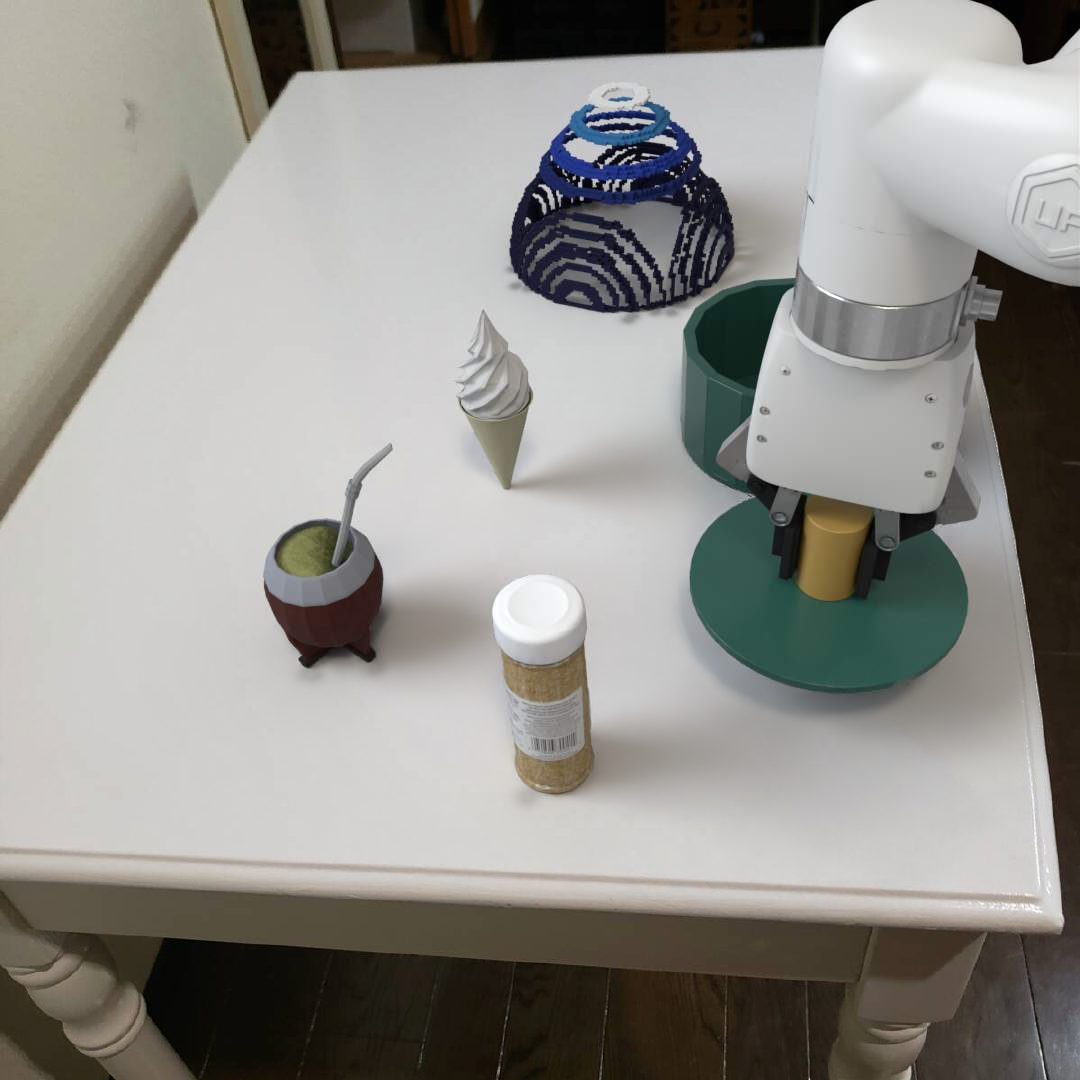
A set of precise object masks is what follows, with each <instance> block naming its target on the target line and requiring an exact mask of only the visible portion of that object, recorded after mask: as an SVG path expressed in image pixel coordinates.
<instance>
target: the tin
mask: <svg viewBox="0 0 1080 1080" xmlns="http://www.w3.org/2000/svg"><path fill="white" fill-rule="evenodd" d="M794 285H795V277H786V278H785V277H783V278H768V279H755V280H752V281H748V282H744V283H741V284H737V285H735V286H731V287H726V288H725V289H721V290H720V291H718V292H717V293H715V294H714V295H712V296H711V297H709V298H708V299H706V300H705V301H703V302H702V303H700V304H698V306H696V307H695V308H694V309H693V311H692V313H691V315H690V317H689V318H688V320H687V322H686V324H685V325H684V327H683V330H682V355H681V356H682V357H681V359H682V360H681V393H680V425H681V437H682V442H683V446H684V447H685V450H686V452H687V454H688V456H689V457H690V458H691V460H692V461H693V462H694V463H695V465H697V467H698V468H699V469H700V470H701V471H702V472H704V474H706V475H708V476H709V477H710V478H712V479H714V480H715V481H717V482H719V483H721V484H723V485H725V486H727V487H729V488H731V489H733V490H737V491H739V492H742V493H745V494H748V495H753V496H755V495H754V494H753V493H752V492H751V491H750V490H749V489H748V487H747V483H746V482H745V481H744V480H739V479H738V478H736V477H735V476H734V475H732V474H731V473H729V472H728V471H727V470H725V469H724V468H723V467H721V466H720V465H719V464H718V463H717V461H716V457H717V455H718V452H719V450H720V448H721V446H722V444H723V442H724V441H725V440H726V439H727V438H728V437H729V436H730V435H731V434H732V433H733V432H734V431H735V430H736V429H737V428H738V427H739V426H740V425H741V424H742V423H743V422H744V421H745V420H746V419H747V418H748V417H749V416H750V415H752V410H753V404H754V399H755V393H756V388H757V383H758V378H759V373H760V369H761V365H762V360H763V356H764V353H765V349H766V345H767V342H768V338H769V335H770V331H771V328H772V324H773V321H774V317H775V315H776V312H777V309H778V306H779V304H780V301H781V299H782V297H783V295H784V294H785V293H786V292H787V291H788V290H790V289H791V288H793V287H794Z"/></svg>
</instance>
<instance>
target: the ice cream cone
mask: <svg viewBox="0 0 1080 1080" xmlns="http://www.w3.org/2000/svg"><path fill="white" fill-rule="evenodd" d="M469 343H470V344H469V346H468V347H467V348H466V351H467V352H468V353H469V354H470V355H471V356H472V357H471V358H469V359H466V360H465V361H463V362H460V363H459V364H458V365H457V368H458V369H462V370H464V373H463V374H462V375H460V376H456V377H454V378H453V382H455V383H456V384H460V385H462V386H463V388H462V390H461V391H459V392H457V393H455V398H456V399H457V403H458V407H459V409H460V410H461V411H462V413H463V414H464V415H465V416H466V418H467V421H468V422H469V425H470V427H471V429H472V431H473V433H474V434H475V436H476V438H477V441H478V442H479V445H481V448H482V450H483V452H484V454H485V456H486V458H487V460H488V461H489V464H490V465H491V467H492V469H493V471H494V473H495V475H496V478H497V479H498V481H499V483H500V484H501V487H502V488H503V489H504V490H508V489H510V488H511V484H512V479H513V474H514V472H515V471H514V470H515V466H516V463H517V459H518V455H519V451H520V447H521V442H522V438H523V435H524V431H525V425H526V422H527V417H528V413H529V409H530V406H531V405H532V403H533V400H534V391H533V388H532V387H531V386H530V383H529V370H528V368H527V367H526V365H525V364H524V362H523V361H522V359H521V358H520V356H519V355H517V354H516V353H514V352H512V351H510V350H509V342H508V341H507V340H506V339H505V338H504V337H503V336H502V335H501V333H499V332H498V331H497V329H496V327H495V326H494V324H493V323H492V321H491V320H490V317H489V316H488V314H487V312H486V311H485V309H481V313H480V316H479V319H478V322H477V324H476V328H475V330H474V333H473V335H472V337H471V339H470V341H469Z"/></svg>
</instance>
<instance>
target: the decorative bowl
mask: <svg viewBox="0 0 1080 1080" xmlns="http://www.w3.org/2000/svg"><path fill="white" fill-rule="evenodd" d="M617 91H621V92H629V93H633V97H630V96H621V97H617V98H615V97H610V98H605V96H606V95H607V94H608V93H612V92H617ZM649 99H651V91H650V88H649V87H648V86H645V85H640V83H634V82H627V81H621V82H615V81H611V82H607V83H602V85H600V86H597V87H595V88H594V89H593V90H592V91H591V93H589V94H588V99H587V103H588V104H584V106H582V107H581V108H580V109H579V110H575V111H574V112H573V113H572V114H571V115H570V119H569V123H568V124H567V125H565V127H564V128H563V129H562V130H561V131H560V132H559V133H558V134H557V135H556V136H555V137H554V138H553V139H552V140H551V142H550V146H549V149H548V150H547V151H546V152H545V153H544V154H542V156H541V157H540V161H539V166H538V171H537V173H536V174H535V177H534V178H533V179H532V180H531V181H530V182H529V183H528V185H527V186H526V187H524V192H523V196H522V197H521V198H520V201H519V202H518V203H517V207H516V211H515V212H514V216H513V219H512V224H511V234H510V238H509V245H510V247H509V248H508V249H509V250H508V251H509V257H510V265H511V266H512V268H513V273H515V274H517V279H518V280H521V282H523V284H524V286H525V287H528V289H529V290H530V291H533V292H534V294H538V295H541V297H544V298H545V299H546V300H550V301H552V303H554V304H560V305H564V306H569V307H575V308H580V309H585V310H588V311H593V312H599V313H604V314H605V312H608V313H613V314H614V313H616V312H617V313H618V312H619V311H621V312H622V311H623V312H627V313H632V312H637V313H638V312H639V311H640V310H646V311H650V310H654V309H658V308H665V307H666V306H667V305H668V306H673V305H674V304H675V303H676V304H678V303H679V302H680V303H681V302H683V301H684V302H686V301H687V300H688V298H689V297H692V298H695V297H696V296H697V295H701V294H702V292H703V291H704V289H708V288H712V286H713V285H714V284H717V283H718V282H719V280H720V279H721V277H722V276H723V274H724V273H725V271H726V269H728V266H729V265H730V263H731V262H732V260H733V258H734V257H735V249H736V248H735V239H734V238H735V234H734V230H735V226H734V222H732V221H733V214H731V212H730V207H729V206H728V204H729V202H728V200H727V199H726V197H725V194H724V192H723V191H722V190H723V187H722V186H720V182H719V181H718V182H717V180H716V179H715V177H712V176H709V175H707V174H706V173H705V172H704V170H702V168H701V167H700V166H701V164H702V162H703V154H702V153H701V150H698V145H697V142H695V138H694V137H691V136H690V133H689V132H686V128H685V129H684V127H682V126H681V125H679V124H678V123H677V122H676V121H673V120H672V119H671V111H669V110H668V109H666V107H665V106H664V105H661V104H659V103H654V102H653V101H649ZM636 107H643V108H649V109H648V110H651V111H650V112H647V111H642V109H638V110H634V109H635V108H636ZM595 109H599V110H604V111H601V112H597V113H593V114H589V115H588V116H587V113H592V112H593V111H594V110H595ZM605 110H606V112H605ZM607 111H608V112H607ZM614 119H617V120H620V119H627V120H633V119H638V120H646V121H652V122H651V123H650V124H648V123H647V124H646V123H639V122H636V123H635V124H631V123H629V122H622V121H621V122H614V123H610V122H609V123H607V124H606V123H604V124H599V125H594V124H591V125H589V126H588V124H589V123H595V122H596V123H597V122H600V121H601V120H603V121H610V120H614ZM616 131H619V132H616ZM625 131H629V132H625ZM606 132H608V133H606ZM660 136H665V138H668V139H669V138H670V139H673V141H676V143H675V147H677V148H676V149H675V148H674V146H670V145H666V143H661V142H655V141H650V140H651V139H655V138H656V137H660ZM575 139H576V140H578V139H581V140H585V141H586V142H587V143H592V144H594V145H598V146H601V147H602V146H603V147H607V146H611V148H609V147H608V148H606V149H605V150H604V152H602V153H601V154H599V155H598V156H597V159H594V160H593V161H592V162H590V161H586V160H585V159H582V158H578V157H577V156H573V155H572V154H571V152H570V150H567V147H566V146H565V145H567V144H568V143H569V142H570V141H571V142H573V141H574V140H575ZM623 151H624V152H623ZM616 152H621V153H618V154H617V155H616ZM690 153H691V154H692V160H691V158H690V157H689V156H688V155H689V154H690ZM643 154H646V155H643ZM647 155H649V156H647ZM632 156H633V157H632ZM629 157H631V158H629ZM608 159H611V160H610V161H608V163H607V164H606V161H607V160H608ZM634 162H635V163H634ZM601 166H602V168H601ZM671 173H673V174H671ZM574 177H575V178H574ZM581 177H582V179H581ZM693 178H694V179H693ZM594 180H597V181H595V185H594ZM617 180H619V181H618V186H615V188H614V189H613V187H614V185H615V184H616V181H617ZM628 180H630V182H629V190H628V191H626V190H624V191H623V187H624V186H625V185H626V184H628ZM609 181H611V182H609ZM607 182H609V183H608V189H607V190H605V187H604V185H607ZM579 183H581V186H579ZM543 186H546V187H547V188H549V191H551V195H552V198H553V201H554V208H552V205H551V204H550V198H549V193H548V191H547V190H546V189H545V188H544V187H543ZM685 186H686V187H685ZM687 189H689V190H688V191H689V192H687ZM557 192H558V195H557ZM689 194H690V195H691V196H690V197H691V199H690V200H689ZM535 195H536V196H539V197H540V198H541V199H542V202H541V201H540V198H539V197H536V196H535ZM559 195H560V199H559ZM669 196H670V197H669ZM581 198H583V199H581ZM559 200H560V201H559ZM646 201H647V202H649V201H650V202H653V201H656V202H662V203H668V204H671V206H675V207H676V206H677V207H682V209H681V210H680V215H681V216H682V217H681V218H682V219H681V220H680V224H679V226H678V230H677V235H676V239H675V241H674V244H673V249H672V253H671V257H672V258H674V259H670V266H669V269H668V272H667V278H668V279H669V280H670V288H669V292H670V300H669V299H667V297H668V291H667V290H666V289H664V280H665V276H663V275H662V270H661V269H659V264H658V263H655V262H656V257H653V254H651V253H650V251H649V250H647V247H644V244H643V243H641V240H638V237H637V236H636V231H635V232H634V231H633V228H628V229H624V223H623V224H622V223H621V220H616V219H615V220H613V221H612V220H606V219H605V217H604V216H599V215H594V214H588V213H583V212H577V211H573V213H568V211H566V210H567V209H571V208H572V207H578V206H582V205H583V204H586V205H588V204H592V203H593V202H599V203H600V202H601V204H603V205H610V206H615V205H623V204H626V205H631V206H636V204H637V203H641V202H646ZM543 204H545V211H546V212H543V211H544V210H543ZM692 212H693V213H692ZM553 215H554V216H553ZM702 217H703V218H702ZM527 219H528V220H529V221H530V222H527V224H526V220H527ZM567 219H568V220H571V221H572V222H576V223H581V224H587V225H593V226H598V229H600V230H606V231H610V232H611V231H612V230H615V231H616V235H617V236H619V239H624V240H625V243H630V242H631V246H632V247H634V253H637V254H640V257H642V258H643V263H645V264H646V266H647V267H649V270H653V271H652V279H654V280H655V285H658V294H661V295H662V299H658V300H655V301H651V292H652V289H653V287H652V282H650V280H649V279H650V278H649V276H648V275H646V274H647V273H646V272H644V271H643V270H644V269H643V268H644V267H643V266H641V264H640V262H638V260H637V259H635V257H634V253H631V252H627V253H625V252H626V251H625V250H626V249H625V248H626V247H625V246H624V245H619V242H618V241H617V240H618V238H617V237H616V236H615V235H614V233H610V232H603V233H600V232H595V231H590V230H584V229H577V228H572V227H570V225H564V224H560V221H566V220H567ZM697 220H698V222H696V221H697ZM704 221H705V222H704ZM559 224H560V225H559ZM686 224H689V225H688V226H687V230H686V233H683V230H684V229H685V225H686ZM557 225H559V226H557ZM702 225H703V226H702ZM549 226H550V227H554V228H550V227H549ZM701 226H702V228H701V230H700V232H699V236H698V240H697V241H696V246H695V249H694V251H693V254H692V253H690V251H691V246H692V245H693V240H694V237H695V235H696V231H697V230H698V227H701ZM546 227H549V228H548V230H547V232H548V233H547V234H545V235H544V236H540V237H539V238H537V237H538V236H539V235H541V233H543V231H545V230H546ZM713 227H715V228H716V229H717V231H716V233H715V235H714V239H713V241H712V245H711V246H710V248H709V252H708V256H707V253H704V250H706V249H705V247H706V245H707V241H708V239H709V235H710V234H711V230H712V228H713ZM565 236H568V238H572V239H578V240H583V241H589V242H593V243H599V242H604V243H603V247H605V248H606V250H607V251H611V252H612V254H613V255H617V256H618V257H619V258H620V259H621V262H624V265H626V266H630V269H631V271H630V273H631V275H634V276H636V278H637V279H636V280H637V282H639V285H640V286H639V290H640V291H642V296H643V297H642V298H643V300H644V299H645V304H643V303H641V304H640V302H639V301H637V293H636V292H634V287H633V286H631V281H630V280H628V277H625V274H624V273H622V270H619V267H617V266H616V264H617V259H614V256H613V255H611V252H606V251H605V248H600V247H595V246H588V247H585V246H580V245H579V244H578V243H572V242H567V241H562V240H564V239H565ZM722 236H724V244H723V246H721V248H720V250H719V254H718V256H717V259H716V266H715V268H714V269H715V271H714V274H713V275H712V276H711V278H710V272H711V270H712V269H711V268H712V264H713V257H714V256H715V252H716V248H717V246H718V242H719V241H720V239H721V238H722ZM536 238H537V239H536ZM557 239H561V240H560V241H559V242H558V243H556V245H554V246H553V249H550V250H549V251H547V252H546V253H545V254H544V256H542V257H541V258H539V259H538V260H537V261H536V262H535V263H534V266H533V270H532V271H530V275H529V268H531V264H532V263H533V262H534V261H535V260H536V257H537V256H538V252H539V251H541V250H545V249H546V245H549V246H550V245H551V243H553V242H554V241H555V240H557ZM685 239H687V242H684V241H685ZM534 240H535V241H534ZM531 245H532V247H531V248H529V247H530V246H531ZM528 248H529V249H528ZM527 250H528V253H526V252H527ZM683 252H684V255H681V254H682V253H683ZM706 257H707V260H704V259H706ZM619 258H618V259H619ZM562 259H566V260H571V261H575V260H576V259H580V260H585V263H586V264H592V265H596V266H600V269H602V270H603V272H604V273H609V277H612V279H613V280H615V282H616V283H617V284H618V291H619V292H621V295H623V296H624V304H627V305H626V306H623V305H620V293H617V287H615V286H614V284H613V283H611V280H608V277H607V276H605V274H604V273H599V270H597V269H593V266H591V265H586V264H581V263H575V262H570V261H565V262H564V263H563V264H562V265H556V267H554V268H553V269H552V270H551V271H549V272H548V273H547V274H546V275H545V278H544V272H545V271H546V269H548V268H549V267H551V265H554V263H556V264H557V263H559V261H561V260H562ZM689 259H692V262H691V269H690V275H687V273H686V271H687V268H688V262H689ZM724 261H725V262H724ZM675 264H678V267H677V272H674V267H675ZM567 270H569V271H574V272H580V273H583V274H590V277H592V278H596V281H598V282H599V284H600V285H605V291H607V292H608V297H611V305H609V304H606V302H603V296H600V291H599V290H597V287H595V286H591V283H589V282H583V281H579V280H575V279H568V278H563V279H562V280H560V282H558V283H557V284H556V285H555V286H554V292H553V293H550V292H551V291H552V286H551V283H553V281H556V278H557V277H556V276H558V277H560V276H561V275H562V274H564V272H566V271H567ZM703 273H704V276H703ZM677 275H678V276H680V277H679V284H682V294H681V293H680V294H679V295H676V277H677ZM543 278H544V279H543ZM703 278H704V279H703ZM542 279H543V281H542ZM702 279H703V284H699V280H702ZM688 288H689V289H690V291H689V292H688ZM574 291H575V292H580V293H582V295H583V296H585V297H586V299H587V300H588V301H589V303H591V304H587V303H586V304H585V303H581V302H576V301H571V300H568V299H567V297H568V296H570V295H571V294H572V293H573V292H574Z"/></svg>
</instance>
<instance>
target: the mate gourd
mask: <svg viewBox="0 0 1080 1080" xmlns="http://www.w3.org/2000/svg"><path fill="white" fill-rule="evenodd" d="M393 450H394V448H393V444H392V443H391V442H389V443H388V444H387V445H385V446H384V447H383V448H382V449H380V450H379V451H378V452H376V453H375V454H374V455H373V456H372V457H371V458H369V459H368V460H367V461H365V462H364V463H363V464H362V465H361V466H360V468H359V469H358V470H357V471H356V473H354V475H353V477H352V478H350V479H349V480H348V482H347V486H346V488H345V492H344V496H345V502H344V507H343V512H342V516H341V520H339V519H332V518H328V517H327V518H326V517H325V518H316V519H315V518H314V519H308V520H306V521H303V522H300V523H297V524H294V525H293V526H291V527H289V528H288V529H286V531H284V532H283V533H281V534H280V535H279V536H278V538H277V539H276V541H275V542H274V543H273V545H272V546H271V548H270V549H269V551H268V552H267V555H266V557H265V562H264V568H263V573H262V574H263V575H262V577H263V590H264V595H265V598H266V600H267V602H268V605H269V607H270V610H271V612H272V614H273V616H274V617H275V621H276V622H277V623H278V625H279V626H280V628H282V630H283V632H284V634H285V636H286V638H287V640H288V641H289V643H290V644H291V645H292V646H293V647H294V648H295V649H296V650H297V651H298V652H299V654H301V655H300V656H299V657H298V658H297V660H298V661H299V663H300V665H301V666H303V667H304V668H307V669H309V668H311V667H312V666H313V665H315V664H316V663H317V662H318V661H320V660H321V659H323V657H324V656H326V655H327V654H328V653H330V652H331V651H332V650H333V649H335V648H336V647H337V648H338V647H342V646H343V647H344V648H345V649H347V650H349V651H350V652H351V653H353V655H355V656H357V657H358V658H359V659H361V660H362V661H364V662H365V663H368V664H369V663H372V661H374V660H375V659H376V658H377V651H376V650H375V649H374V648H372V647H371V627H372V626H373V624H374V622H375V620H376V618H377V616H378V614H379V613H380V609H381V606H382V602H383V593H384V592H383V591H384V580H385V579H384V570H383V569H384V568H383V566H382V563H381V560H380V559H379V557H378V554H377V553H376V550H375V549H374V547H373V546H372V544H371V542H370V539H369V538H368V536H367V535H365V534H364V533H363V532H361V531H360V530H358V529H356V528H355V527H354V526H352V525H351V524H352V520H353V515H354V510H355V505H356V500H358V498H359V497H360V492H361V490H362V488H363V481H364V479H365V478H366V477H367V476H368V474H369V473H370V472H371V471H373V469H374V468H375V467H376V466H378V464H380V463H381V461H383V460H384V459H385V458H386V457H387V456H388V455H390V453H391V452H392V451H393Z"/></svg>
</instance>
